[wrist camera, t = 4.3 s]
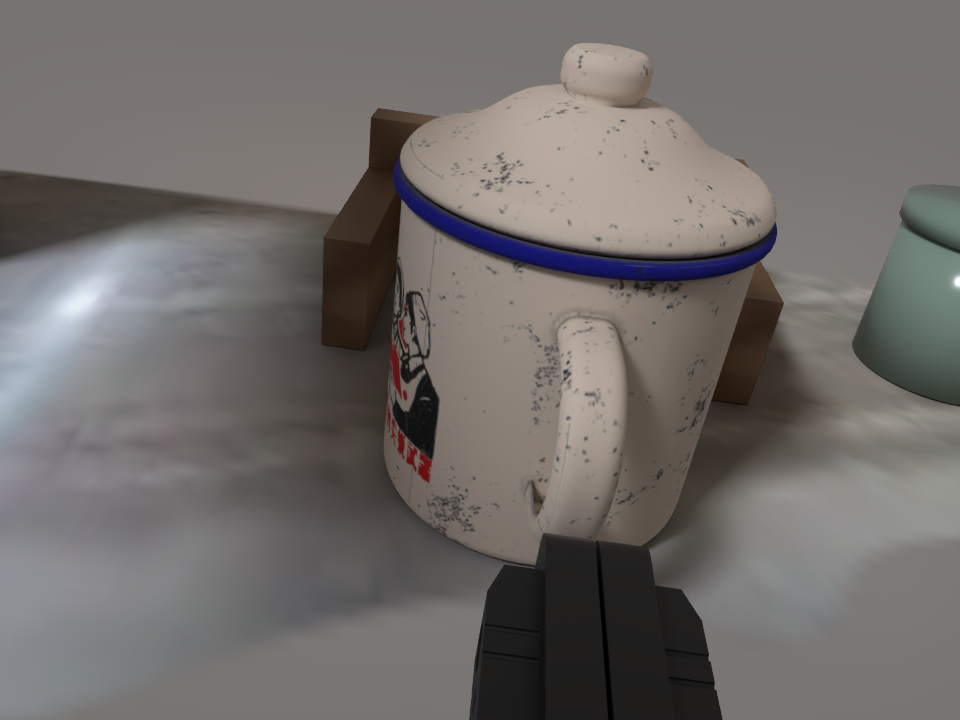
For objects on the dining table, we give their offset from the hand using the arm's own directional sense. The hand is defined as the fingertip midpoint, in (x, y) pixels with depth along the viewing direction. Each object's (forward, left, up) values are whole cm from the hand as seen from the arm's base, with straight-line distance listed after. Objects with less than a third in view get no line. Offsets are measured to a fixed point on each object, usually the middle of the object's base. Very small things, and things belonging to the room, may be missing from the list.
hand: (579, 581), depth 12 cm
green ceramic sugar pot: (+16, +20, -6) cm, 27 cm away
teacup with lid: (0, +9, -6) cm, 11 cm away
